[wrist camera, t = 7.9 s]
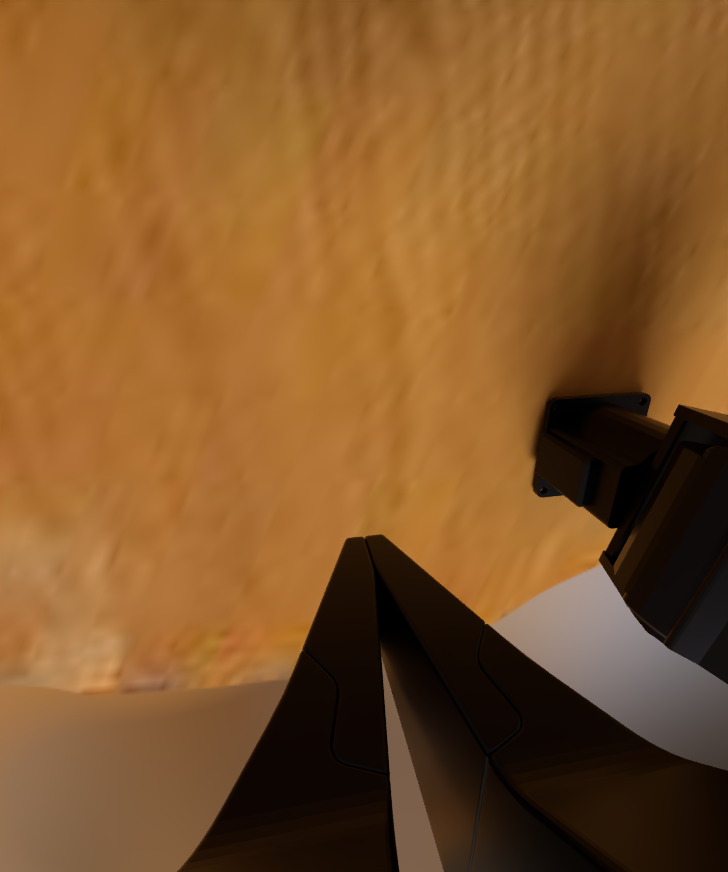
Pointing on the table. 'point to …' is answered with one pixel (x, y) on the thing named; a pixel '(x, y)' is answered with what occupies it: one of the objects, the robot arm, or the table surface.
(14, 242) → the table surface
